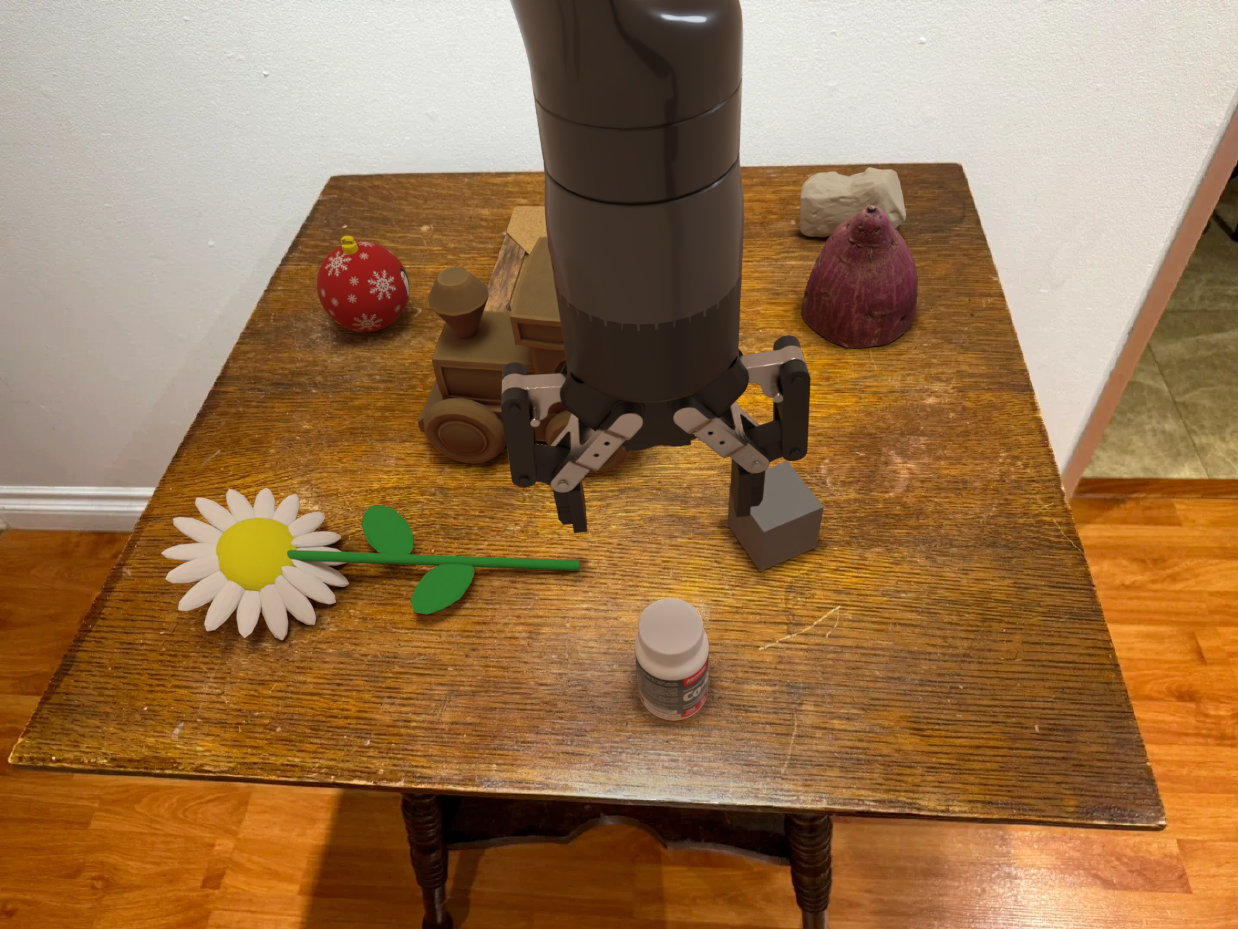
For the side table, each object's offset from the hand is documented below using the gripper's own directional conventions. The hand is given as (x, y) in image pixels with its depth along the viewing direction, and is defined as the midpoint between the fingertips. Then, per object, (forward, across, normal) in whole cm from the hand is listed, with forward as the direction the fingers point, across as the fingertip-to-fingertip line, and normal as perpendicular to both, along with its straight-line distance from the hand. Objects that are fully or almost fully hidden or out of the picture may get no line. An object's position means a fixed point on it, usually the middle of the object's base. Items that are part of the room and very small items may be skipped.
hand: (660, 512), depth 47 cm
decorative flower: (+19, -20, +11) cm, 30 cm away
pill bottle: (+19, 0, -1) cm, 19 cm away
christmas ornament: (+18, -25, +42) cm, 52 cm away
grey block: (+19, +9, +11) cm, 24 cm away
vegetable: (+19, +22, +36) cm, 46 cm away
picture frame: (+18, -4, +44) cm, 48 cm away
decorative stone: (+19, +25, +51) cm, 60 cm away
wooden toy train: (+19, -8, +25) cm, 32 cm away
